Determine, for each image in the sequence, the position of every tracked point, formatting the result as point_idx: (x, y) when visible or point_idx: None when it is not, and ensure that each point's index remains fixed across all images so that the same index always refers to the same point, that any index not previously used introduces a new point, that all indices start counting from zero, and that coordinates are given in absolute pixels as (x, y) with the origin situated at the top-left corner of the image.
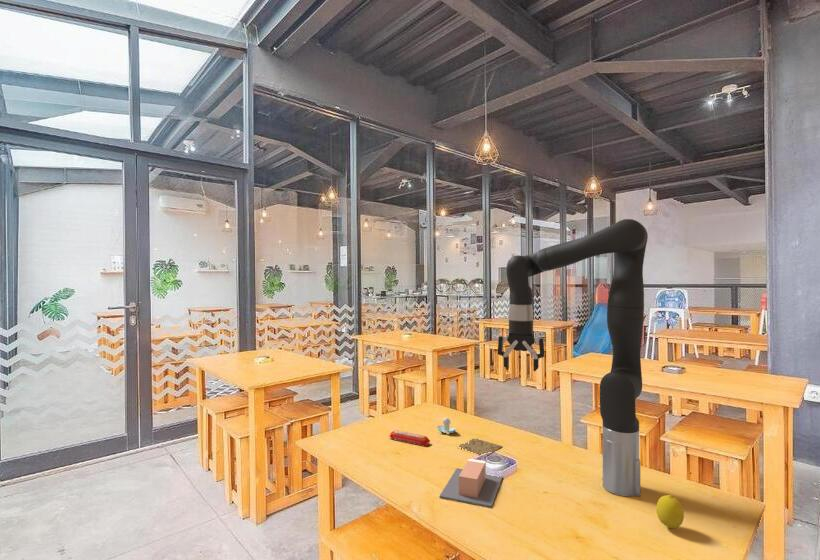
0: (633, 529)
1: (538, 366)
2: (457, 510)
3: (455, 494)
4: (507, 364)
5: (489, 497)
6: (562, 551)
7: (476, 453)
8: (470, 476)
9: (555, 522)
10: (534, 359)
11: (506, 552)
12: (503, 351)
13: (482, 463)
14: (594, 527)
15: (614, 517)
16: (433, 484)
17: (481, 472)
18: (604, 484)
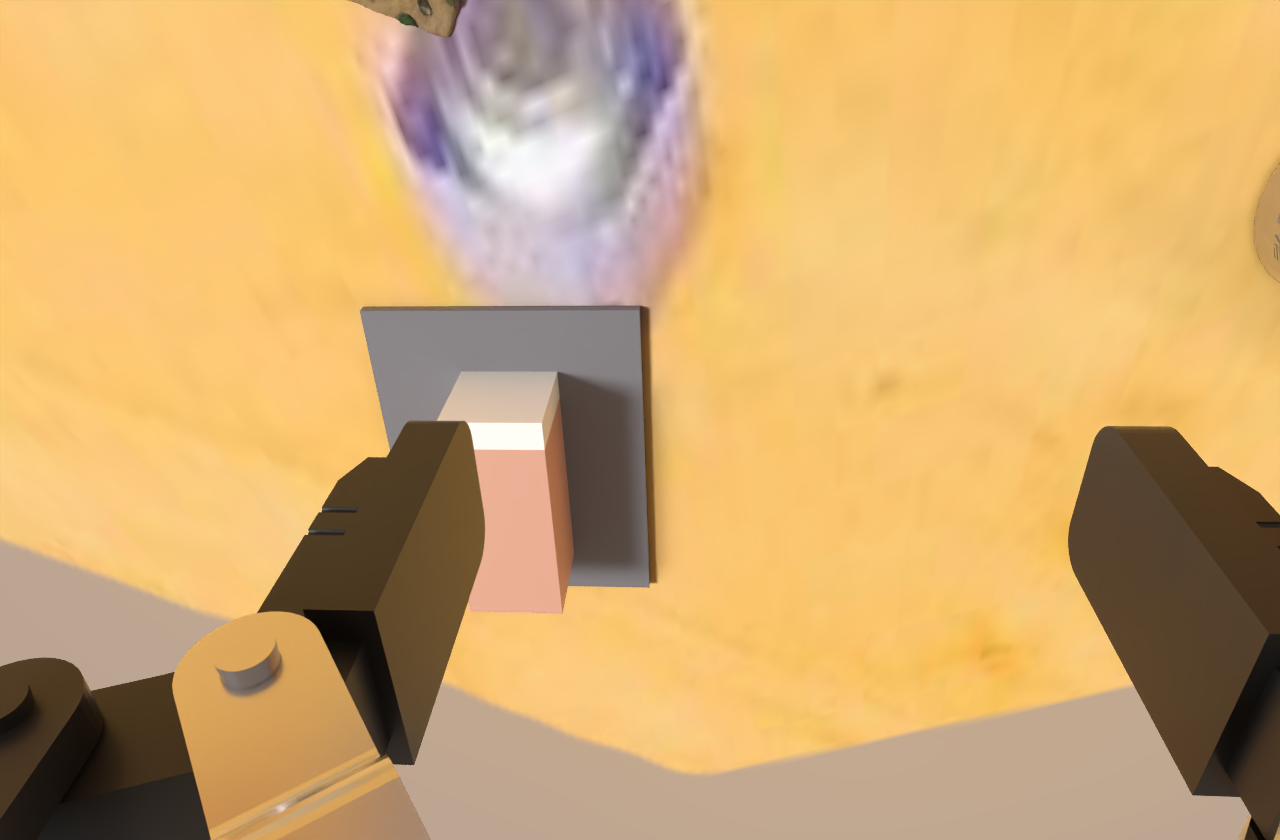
0: None
1: (1264, 511)
2: (527, 630)
3: None
4: (452, 623)
5: (625, 534)
6: (922, 723)
7: (368, 4)
8: (523, 599)
9: (914, 598)
10: (1228, 790)
11: (747, 763)
12: (115, 794)
13: (532, 457)
14: (1070, 586)
15: None
16: None
17: (555, 519)
18: (1267, 248)
